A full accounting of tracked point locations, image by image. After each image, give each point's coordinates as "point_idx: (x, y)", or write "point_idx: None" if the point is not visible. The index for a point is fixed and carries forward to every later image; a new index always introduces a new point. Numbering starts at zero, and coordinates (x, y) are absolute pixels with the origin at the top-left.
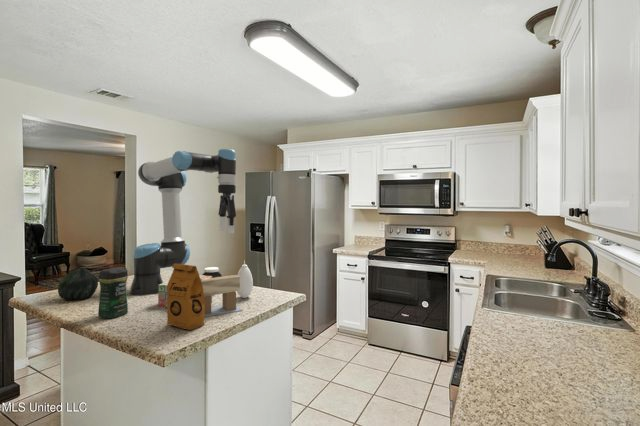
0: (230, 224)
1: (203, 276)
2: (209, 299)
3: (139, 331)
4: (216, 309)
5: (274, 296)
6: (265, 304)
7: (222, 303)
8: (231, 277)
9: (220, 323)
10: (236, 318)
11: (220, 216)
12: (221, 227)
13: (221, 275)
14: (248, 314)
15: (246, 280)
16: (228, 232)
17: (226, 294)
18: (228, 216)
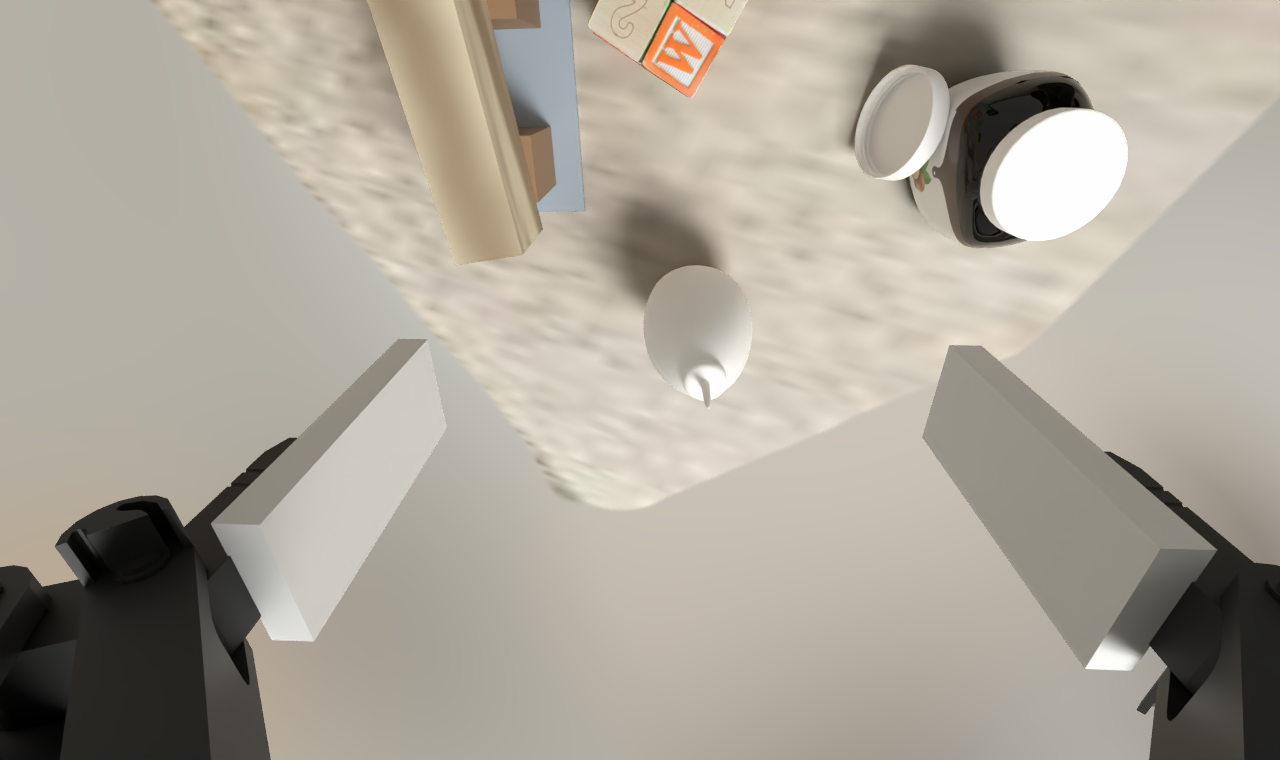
0: (268, 454)
1: (690, 9)
2: None
3: None
4: (516, 80)
5: (635, 423)
6: (521, 343)
7: (546, 128)
8: (437, 200)
9: (282, 44)
10: (343, 147)
11: (1237, 577)
12: (973, 400)
13: (967, 242)
14: (390, 221)
15: (645, 334)
16: (394, 353)
17: None
18: (90, 554)
